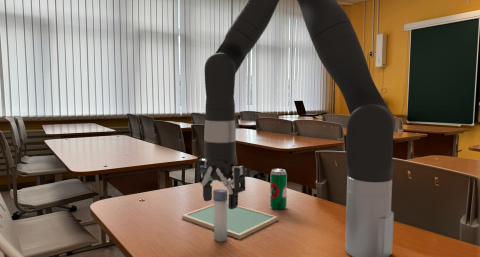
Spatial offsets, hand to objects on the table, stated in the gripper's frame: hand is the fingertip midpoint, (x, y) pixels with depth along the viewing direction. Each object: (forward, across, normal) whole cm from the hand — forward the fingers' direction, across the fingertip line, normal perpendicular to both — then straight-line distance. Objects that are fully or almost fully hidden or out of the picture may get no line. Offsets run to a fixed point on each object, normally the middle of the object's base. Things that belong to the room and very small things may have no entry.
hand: (219, 204), depth 84 cm
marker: (+9, -1, 0) cm, 9 cm away
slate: (+9, +6, -11) cm, 15 cm away
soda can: (+9, +2, -28) cm, 29 cm away
